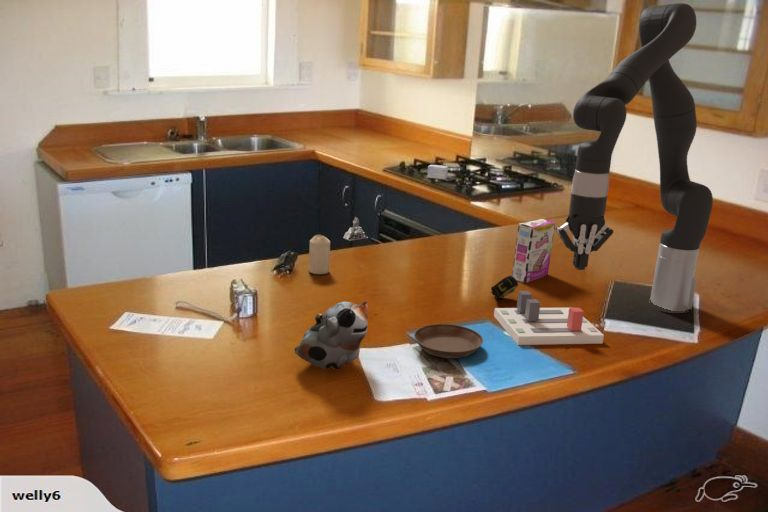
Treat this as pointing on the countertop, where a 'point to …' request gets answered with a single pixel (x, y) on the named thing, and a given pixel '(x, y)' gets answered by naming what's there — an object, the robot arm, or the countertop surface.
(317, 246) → the candle
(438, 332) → the saucer
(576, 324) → the block
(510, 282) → the tape measure
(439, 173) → the medicine box
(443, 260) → the countertop surface
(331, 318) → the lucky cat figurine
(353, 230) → the grey stone figurine
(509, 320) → the breaker panel
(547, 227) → the candy bar box
